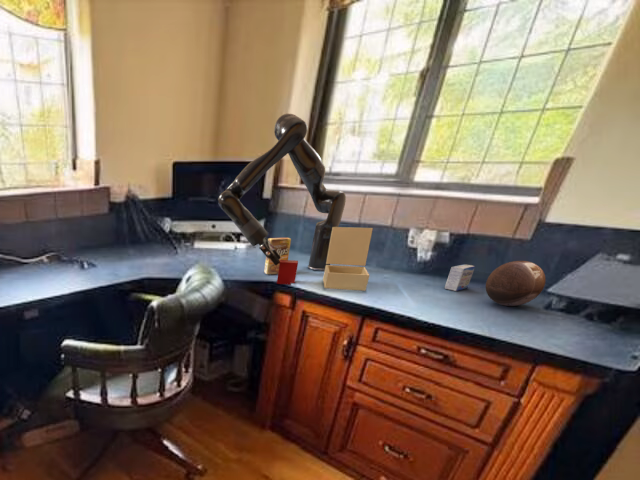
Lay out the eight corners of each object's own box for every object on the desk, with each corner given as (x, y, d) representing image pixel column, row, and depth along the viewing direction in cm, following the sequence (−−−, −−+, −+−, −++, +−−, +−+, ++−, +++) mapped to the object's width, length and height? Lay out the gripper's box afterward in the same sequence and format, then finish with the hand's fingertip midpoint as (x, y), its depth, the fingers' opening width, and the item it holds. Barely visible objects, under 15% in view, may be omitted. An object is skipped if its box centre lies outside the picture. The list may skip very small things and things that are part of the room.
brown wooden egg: (517, 314, 138) (537, 268, 130) (469, 301, 150) (485, 259, 142) (543, 307, 143) (564, 263, 135) (494, 296, 155) (512, 254, 148)
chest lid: (372, 228, 165) (370, 229, 170) (332, 226, 170) (331, 228, 174) (365, 265, 169) (363, 266, 174) (326, 263, 174) (325, 264, 178)
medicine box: (455, 291, 161) (464, 268, 157) (443, 288, 164) (451, 266, 160) (467, 288, 164) (475, 266, 160) (455, 285, 167) (463, 263, 163)
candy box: (266, 274, 188) (271, 239, 181) (263, 272, 192) (268, 237, 185) (286, 274, 188) (291, 238, 181) (282, 271, 192) (288, 237, 185)
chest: (365, 292, 162) (369, 275, 159) (324, 290, 166) (327, 272, 163) (360, 283, 173) (364, 266, 170) (322, 281, 178) (325, 264, 174)
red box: (277, 281, 179) (280, 259, 175) (294, 282, 177) (298, 260, 173) (276, 283, 176) (279, 262, 171) (294, 284, 173) (298, 262, 169)
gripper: (259, 227, 163) (286, 259, 165) (262, 222, 175) (286, 251, 177) (244, 241, 167) (270, 271, 169) (247, 235, 179) (271, 263, 181)
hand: (278, 261), depth 173 cm, fingers open, 8 cm apart
